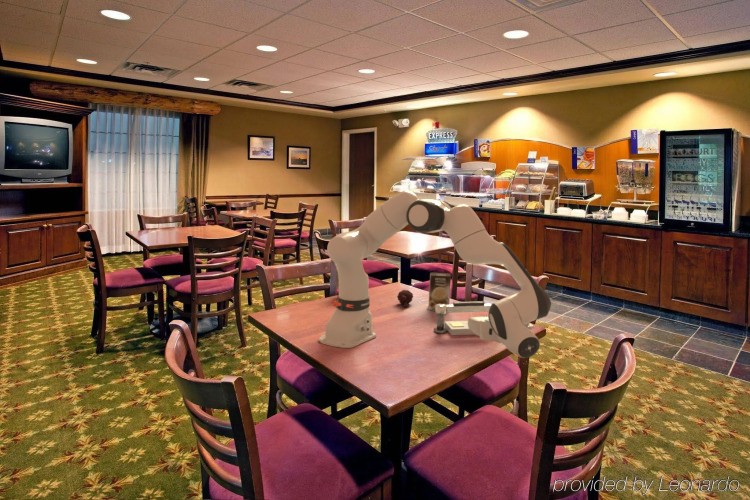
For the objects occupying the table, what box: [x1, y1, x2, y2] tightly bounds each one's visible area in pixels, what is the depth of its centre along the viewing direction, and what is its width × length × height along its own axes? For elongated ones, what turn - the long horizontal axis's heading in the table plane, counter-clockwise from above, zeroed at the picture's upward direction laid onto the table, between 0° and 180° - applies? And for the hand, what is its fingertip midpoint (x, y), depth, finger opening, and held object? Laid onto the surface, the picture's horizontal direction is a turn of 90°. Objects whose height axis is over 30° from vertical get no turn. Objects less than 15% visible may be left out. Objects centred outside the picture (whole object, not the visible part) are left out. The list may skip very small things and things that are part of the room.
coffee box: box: [427, 272, 452, 311], centre depth 200 cm, size 9×6×16 cm
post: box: [433, 313, 448, 334], centre depth 171 cm, size 5×5×7 cm
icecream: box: [397, 289, 414, 309], centre depth 207 cm, size 7×7×15 cm
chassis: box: [444, 320, 475, 336], centre depth 173 cm, size 14×9×3 cm, turn 98°
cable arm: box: [434, 300, 492, 315], centre depth 171 cm, size 22×4×4 cm, turn 98°
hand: (489, 316), depth 158 cm, fingers closed
